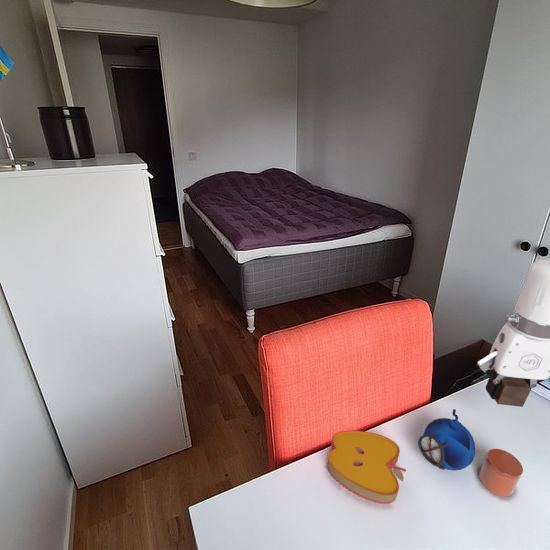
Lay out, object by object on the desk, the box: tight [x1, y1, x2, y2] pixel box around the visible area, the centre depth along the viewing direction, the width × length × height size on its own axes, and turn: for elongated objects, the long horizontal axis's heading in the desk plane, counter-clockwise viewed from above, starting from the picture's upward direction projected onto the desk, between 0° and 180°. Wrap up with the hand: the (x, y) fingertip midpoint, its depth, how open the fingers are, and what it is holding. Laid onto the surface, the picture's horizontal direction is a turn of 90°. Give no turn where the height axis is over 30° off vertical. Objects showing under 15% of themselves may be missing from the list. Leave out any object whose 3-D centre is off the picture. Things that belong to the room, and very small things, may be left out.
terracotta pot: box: [478, 448, 524, 498], centre depth 68 cm, size 6×6×6 cm
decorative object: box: [326, 429, 407, 505], centre depth 70 cm, size 14×4×15 cm
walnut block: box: [494, 373, 532, 408], centre depth 72 cm, size 5×5×5 cm
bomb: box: [417, 408, 477, 471], centre depth 70 cm, size 10×11×15 cm
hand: (504, 395), depth 73 cm, fingers closed on walnut block, 5 cm apart
